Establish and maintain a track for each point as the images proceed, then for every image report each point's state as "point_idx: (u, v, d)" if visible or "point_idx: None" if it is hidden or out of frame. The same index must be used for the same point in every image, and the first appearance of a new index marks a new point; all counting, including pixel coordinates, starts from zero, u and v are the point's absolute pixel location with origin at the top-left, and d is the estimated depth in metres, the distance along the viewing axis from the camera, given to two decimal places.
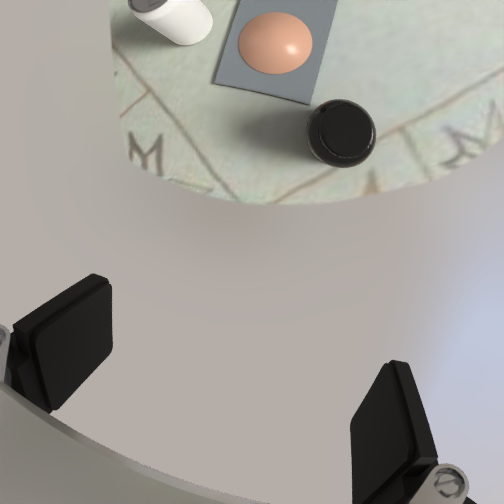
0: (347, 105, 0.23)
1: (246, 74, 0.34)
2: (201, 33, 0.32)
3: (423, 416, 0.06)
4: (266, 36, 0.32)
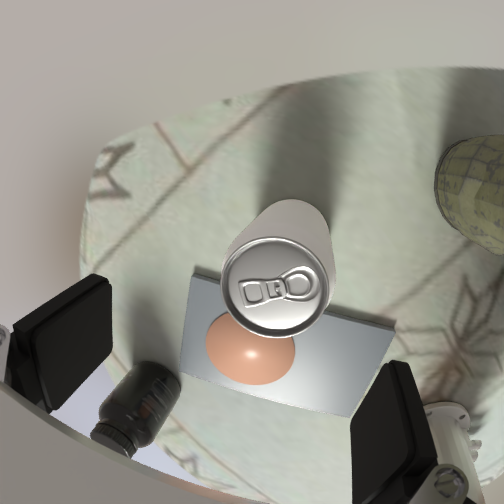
0: (127, 454, 0.24)
1: (203, 315, 0.30)
2: None
3: (423, 416, 0.06)
4: (256, 342, 0.30)
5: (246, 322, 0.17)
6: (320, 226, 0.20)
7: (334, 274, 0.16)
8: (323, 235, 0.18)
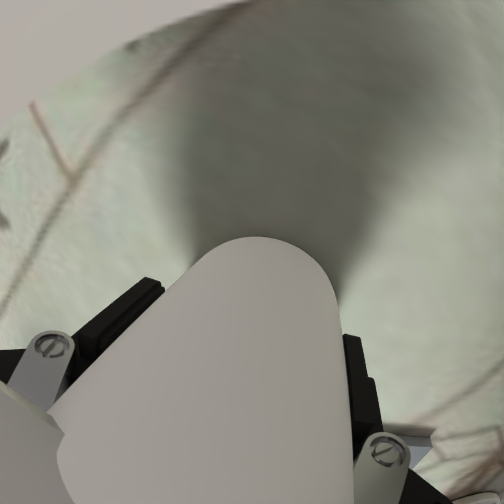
0: None
1: None
2: None
3: (366, 384, 0.07)
4: None
5: None
6: (321, 365, 0.06)
7: None
8: (328, 436, 0.04)
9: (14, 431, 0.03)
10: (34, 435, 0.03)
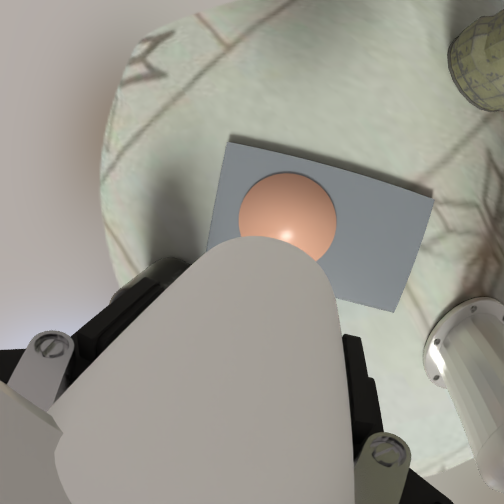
0: None
1: (238, 184, 0.29)
2: None
3: (366, 384, 0.07)
4: (295, 211, 0.28)
5: None
6: (321, 364, 0.06)
7: None
8: (329, 435, 0.04)
9: (14, 431, 0.03)
10: (34, 435, 0.03)
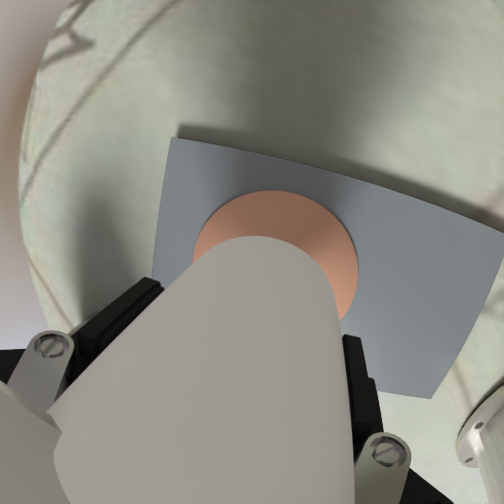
0: None
1: (190, 210, 0.17)
2: None
3: (366, 385, 0.07)
4: None
5: None
6: (321, 364, 0.06)
7: None
8: (329, 434, 0.04)
9: (14, 431, 0.03)
10: (34, 435, 0.03)
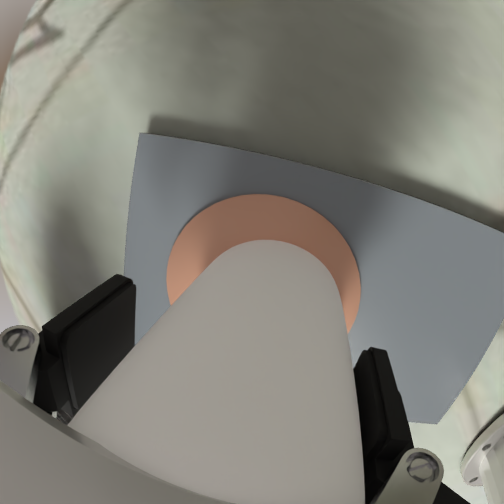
0: None
1: (161, 218, 0.14)
2: None
3: (397, 400, 0.07)
4: None
5: None
6: (336, 357, 0.07)
7: None
8: (346, 416, 0.05)
9: (14, 431, 0.03)
10: (34, 435, 0.03)
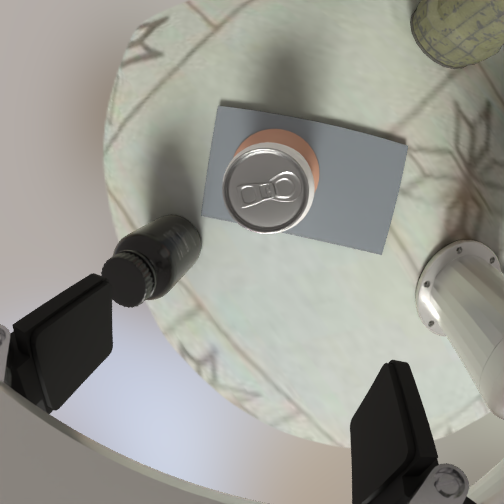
0: (144, 284, 0.25)
1: (229, 142, 0.31)
2: None
3: (423, 416, 0.06)
4: None
5: (243, 222, 0.21)
6: None
7: (313, 182, 0.21)
8: None
9: (14, 431, 0.03)
10: (34, 435, 0.03)
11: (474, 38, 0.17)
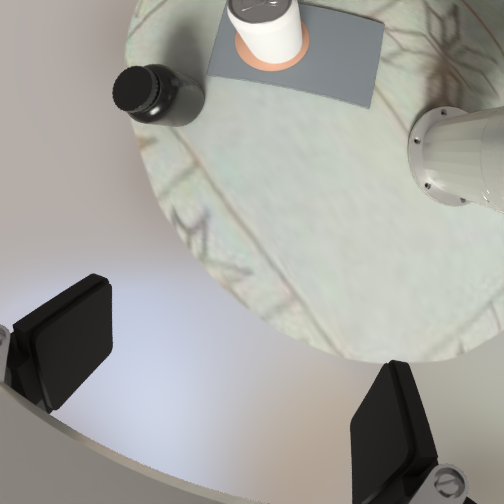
0: (151, 84, 0.25)
1: None
2: (253, 53, 0.30)
3: (423, 416, 0.06)
4: None
5: (241, 19, 0.21)
6: None
7: (296, 0, 0.21)
8: None
9: (14, 431, 0.03)
10: (34, 435, 0.03)
11: None
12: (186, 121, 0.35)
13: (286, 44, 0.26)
